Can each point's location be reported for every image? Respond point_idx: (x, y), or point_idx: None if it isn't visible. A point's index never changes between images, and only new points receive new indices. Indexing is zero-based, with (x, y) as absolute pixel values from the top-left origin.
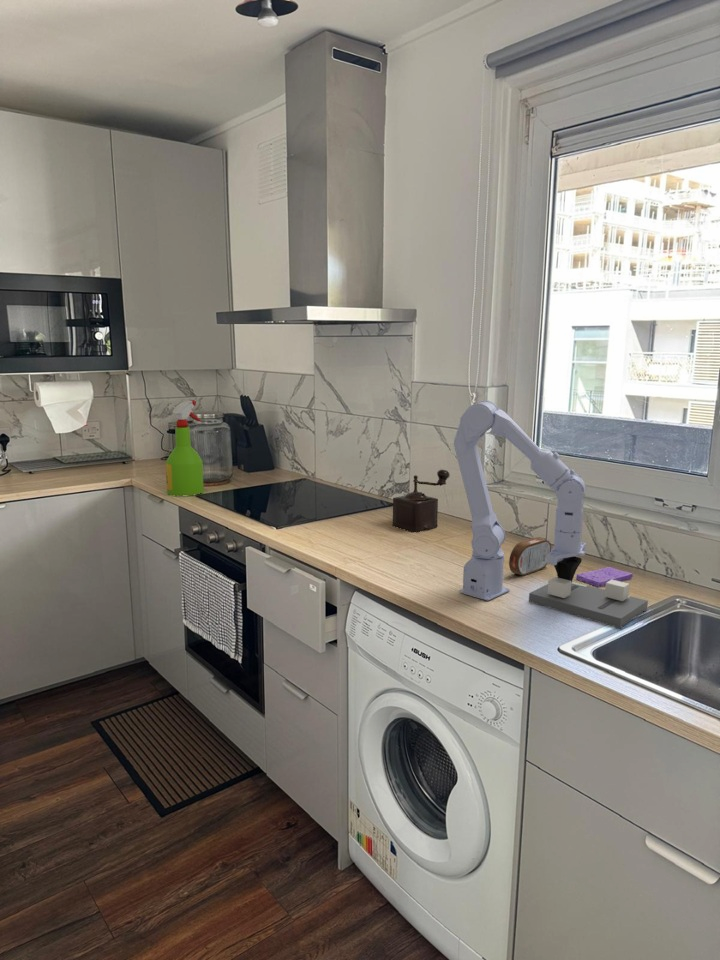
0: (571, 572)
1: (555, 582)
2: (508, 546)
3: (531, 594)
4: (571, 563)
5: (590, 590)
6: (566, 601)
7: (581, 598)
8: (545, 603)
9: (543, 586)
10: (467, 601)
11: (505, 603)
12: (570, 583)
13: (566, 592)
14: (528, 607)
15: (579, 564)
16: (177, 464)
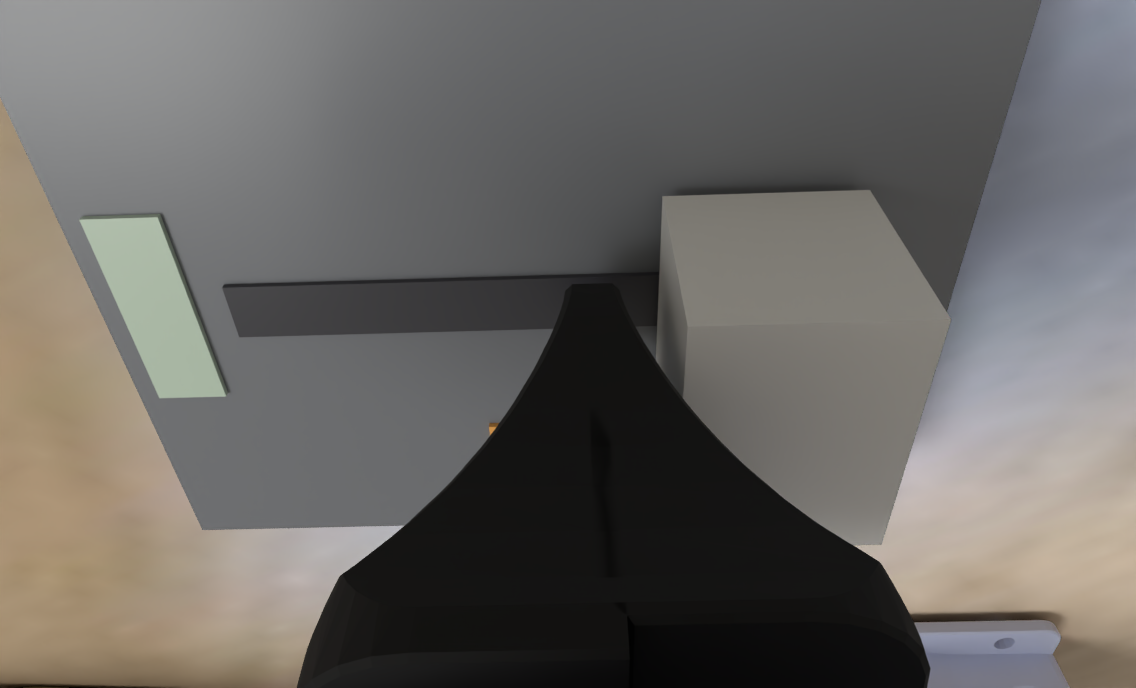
0: (707, 454)
1: (901, 450)
2: None
3: None
4: (926, 656)
5: (199, 93)
6: (931, 115)
7: (644, 16)
8: None
9: None
10: (1118, 678)
11: (1019, 531)
12: (714, 301)
13: (822, 227)
14: (1020, 380)
15: (399, 538)
16: None
